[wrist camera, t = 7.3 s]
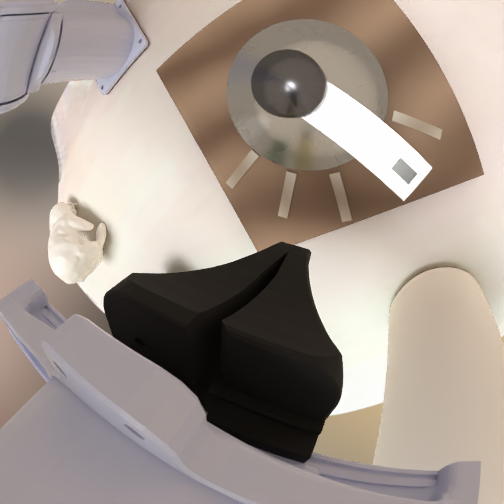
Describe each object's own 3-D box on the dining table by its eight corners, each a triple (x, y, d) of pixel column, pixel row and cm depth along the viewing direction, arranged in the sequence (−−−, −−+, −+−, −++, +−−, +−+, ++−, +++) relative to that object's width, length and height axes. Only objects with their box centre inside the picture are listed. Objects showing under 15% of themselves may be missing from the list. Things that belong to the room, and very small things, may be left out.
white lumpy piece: (64, 297, 27) (28, 235, 28) (113, 270, 34) (73, 216, 35) (62, 267, 23) (26, 201, 25) (119, 239, 30) (77, 184, 32)
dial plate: (167, 71, 19) (154, 70, 17) (347, -39, 9) (344, -50, 7) (267, 248, 23) (259, 257, 21) (476, 170, 13) (485, 174, 12)
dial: (210, 116, 17) (170, 118, 14) (281, 3, 12) (254, -24, 8) (360, 228, 17) (356, 258, 13) (453, 117, 11) (479, 116, 7)
